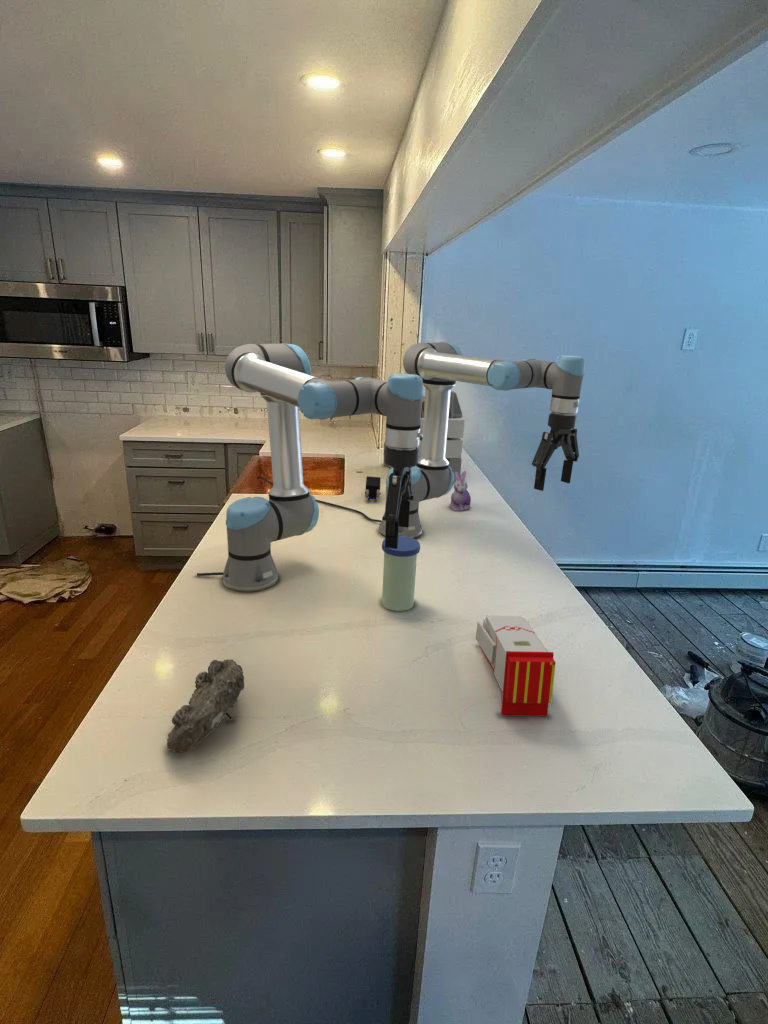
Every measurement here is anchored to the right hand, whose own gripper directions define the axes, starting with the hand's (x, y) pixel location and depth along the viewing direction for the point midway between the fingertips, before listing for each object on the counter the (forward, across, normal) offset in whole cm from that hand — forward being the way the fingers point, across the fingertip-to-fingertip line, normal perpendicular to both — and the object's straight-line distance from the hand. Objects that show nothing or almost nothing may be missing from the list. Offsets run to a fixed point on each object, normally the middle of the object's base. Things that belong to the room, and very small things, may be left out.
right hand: (552, 485), depth 166 cm
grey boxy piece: (+28, +46, +101) cm, 115 cm away
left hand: (+3, -59, +2) cm, 59 cm away
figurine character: (+28, +3, +84) cm, 89 cm away
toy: (+28, -50, -27) cm, 64 cm away
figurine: (+28, +25, +55) cm, 67 cm away
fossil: (+28, -107, 0) cm, 110 cm away
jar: (+28, -48, +12) cm, 57 cm away
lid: (+11, -48, +12) cm, 51 cm away
